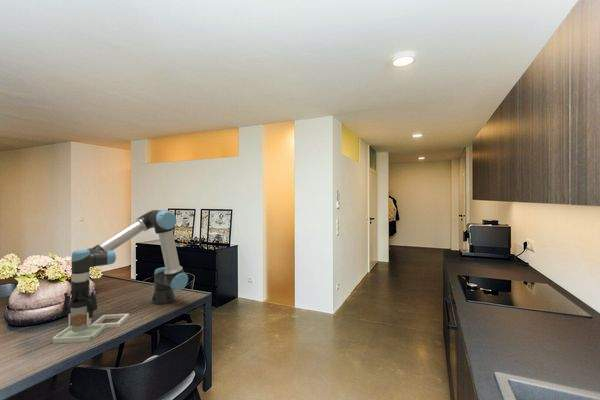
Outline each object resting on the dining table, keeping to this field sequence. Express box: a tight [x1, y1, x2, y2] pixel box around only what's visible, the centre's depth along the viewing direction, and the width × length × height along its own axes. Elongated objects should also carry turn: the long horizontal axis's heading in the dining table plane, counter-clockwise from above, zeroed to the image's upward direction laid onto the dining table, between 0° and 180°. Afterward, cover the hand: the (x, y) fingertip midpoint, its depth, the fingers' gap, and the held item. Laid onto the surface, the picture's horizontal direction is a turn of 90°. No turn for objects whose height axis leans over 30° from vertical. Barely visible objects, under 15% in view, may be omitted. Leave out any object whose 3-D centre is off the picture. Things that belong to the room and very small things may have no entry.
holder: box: [90, 313, 130, 329], centre depth 164 cm, size 14×14×2 cm
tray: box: [50, 324, 107, 345], centre depth 148 cm, size 18×14×2 cm
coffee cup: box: [69, 299, 88, 332], centre depth 148 cm, size 8×8×15 cm
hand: (79, 324), depth 148 cm, fingers closed on coffee cup, 7 cm apart
